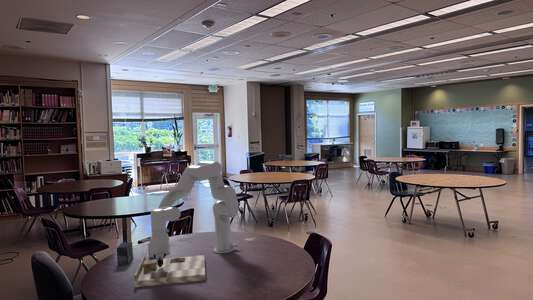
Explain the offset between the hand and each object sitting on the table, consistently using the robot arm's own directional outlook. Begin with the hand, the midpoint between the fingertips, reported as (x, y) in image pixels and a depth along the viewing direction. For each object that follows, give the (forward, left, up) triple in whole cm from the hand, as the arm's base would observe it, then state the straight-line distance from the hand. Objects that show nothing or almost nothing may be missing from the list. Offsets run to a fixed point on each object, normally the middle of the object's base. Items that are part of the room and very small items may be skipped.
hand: (160, 266), depth 194 cm
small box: (+23, -25, -4) cm, 34 cm away
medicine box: (+6, -30, -4) cm, 31 cm away
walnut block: (+5, 0, -1) cm, 5 cm away
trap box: (-6, 0, -4) cm, 7 cm away
